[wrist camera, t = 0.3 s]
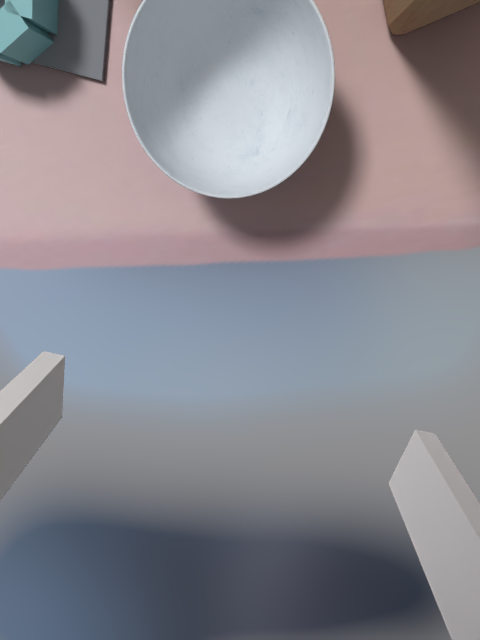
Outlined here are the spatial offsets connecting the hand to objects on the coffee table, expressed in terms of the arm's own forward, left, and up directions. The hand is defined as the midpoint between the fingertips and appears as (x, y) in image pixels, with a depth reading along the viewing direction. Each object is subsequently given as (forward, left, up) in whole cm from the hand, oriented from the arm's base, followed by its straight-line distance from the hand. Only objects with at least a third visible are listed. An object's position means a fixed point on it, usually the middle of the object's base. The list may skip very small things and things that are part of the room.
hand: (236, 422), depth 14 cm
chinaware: (-13, -5, -28) cm, 31 cm away
